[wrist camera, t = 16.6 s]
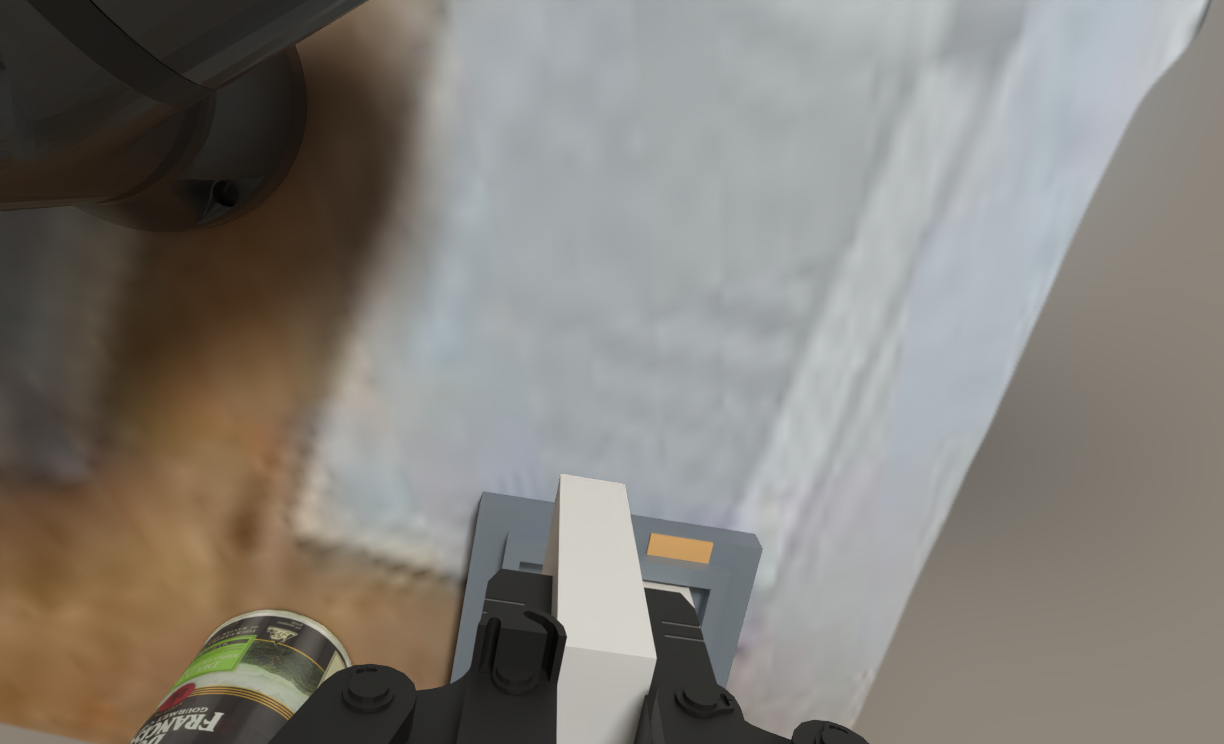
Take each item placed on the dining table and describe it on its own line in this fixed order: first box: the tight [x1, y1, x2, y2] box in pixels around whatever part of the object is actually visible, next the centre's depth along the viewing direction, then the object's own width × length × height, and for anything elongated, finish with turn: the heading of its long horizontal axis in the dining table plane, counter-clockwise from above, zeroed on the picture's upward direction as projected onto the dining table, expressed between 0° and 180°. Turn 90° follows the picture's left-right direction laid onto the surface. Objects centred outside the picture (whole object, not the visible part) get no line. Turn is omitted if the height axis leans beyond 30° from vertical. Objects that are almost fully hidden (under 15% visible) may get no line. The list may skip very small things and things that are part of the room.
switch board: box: [450, 492, 763, 688], centre depth 50 cm, size 18×16×3 cm
